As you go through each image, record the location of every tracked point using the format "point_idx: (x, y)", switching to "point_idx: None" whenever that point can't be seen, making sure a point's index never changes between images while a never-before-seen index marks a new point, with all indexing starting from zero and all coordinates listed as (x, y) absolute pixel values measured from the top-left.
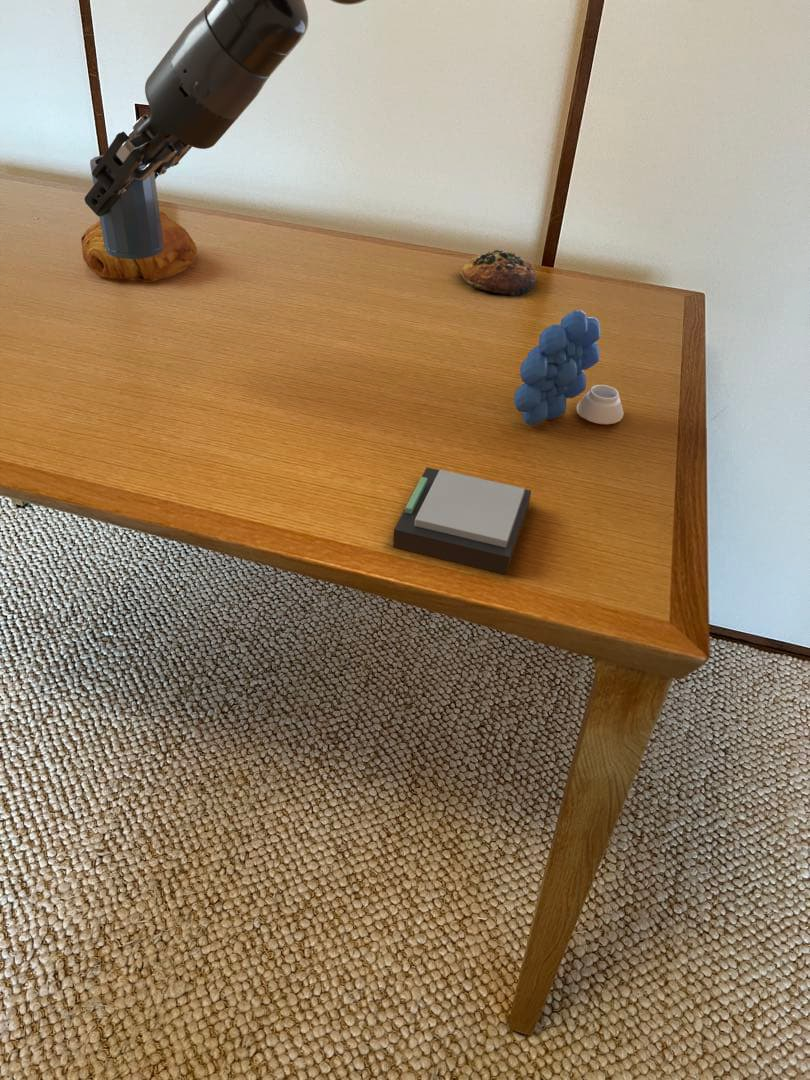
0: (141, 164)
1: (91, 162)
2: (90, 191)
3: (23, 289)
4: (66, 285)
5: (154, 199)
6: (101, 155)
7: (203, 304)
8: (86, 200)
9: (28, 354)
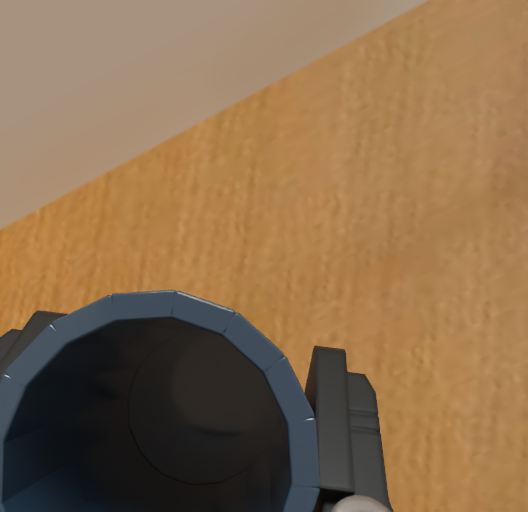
0: (278, 508)
1: (69, 320)
2: (16, 345)
3: (454, 14)
4: (501, 75)
5: None
6: (215, 308)
7: (520, 369)
8: (6, 333)
9: (211, 150)
